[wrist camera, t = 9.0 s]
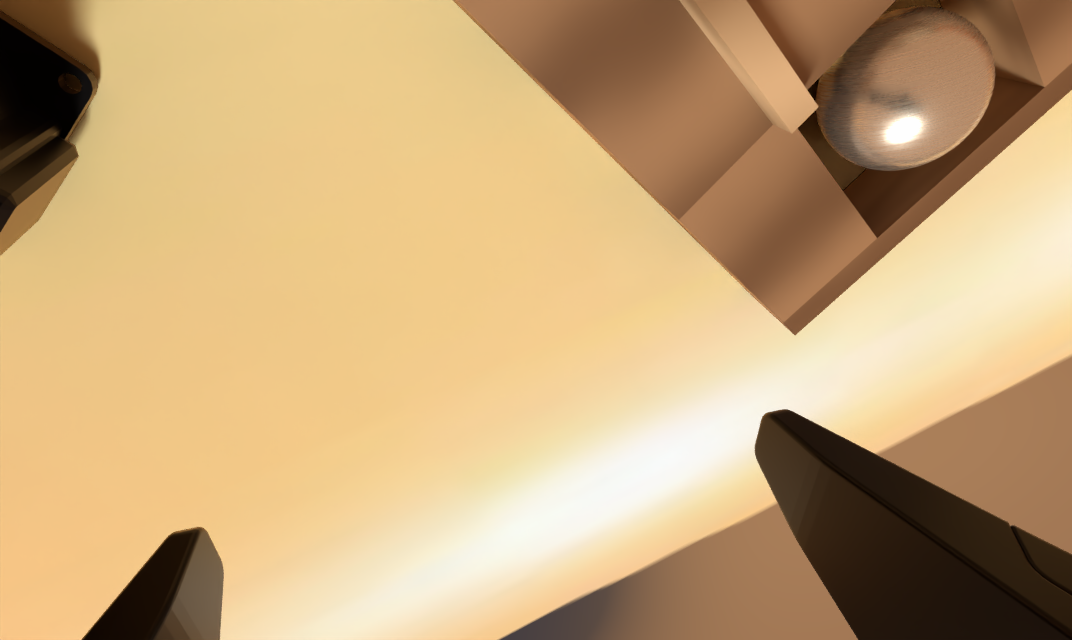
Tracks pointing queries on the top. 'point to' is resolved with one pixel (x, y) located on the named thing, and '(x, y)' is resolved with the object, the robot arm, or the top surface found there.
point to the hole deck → (766, 121)
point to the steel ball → (906, 89)
